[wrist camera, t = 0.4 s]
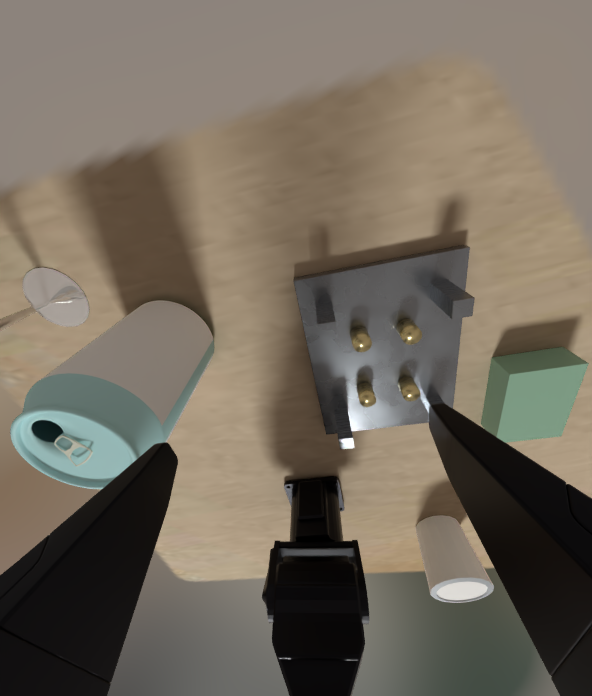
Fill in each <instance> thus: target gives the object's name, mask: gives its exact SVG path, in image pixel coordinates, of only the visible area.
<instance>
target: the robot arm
mask: <svg viewBox="0 0 592 696" xmlns="http://www.w3.org/2000/svg"><path fill="white" fill-rule="evenodd" d="M429 428H430V431H431V434H432V436H433V439H434V442H435V444H436V447H437V449H438V452H439V455H440V457H441V460H442V462H443V465H444V468H445V470H446V473H447V475H448V478H449V480H450V482H451V484H452V486H453V488H454V490H455V492H456V494H457V496H458V497H459V499H460V501H461V503H462V505H463V507H464V509H465V511H466V513H467V515H468V517H469V519H470V521H471V523H472V525H473V527H474V529H475V531H476V532H477V534H478V536H479V538H480V540H481V542H482V544H483V546H484V548H485V550H486V552H487V554H488V556H489V558H490V560H491V562H492V564H493V566H494V568H495V569H496V571H497V573H498V575H499V577H500V579H501V581H502V583H503V585H504V587H505V589H506V591H507V593H508V595H509V597H510V599H511V600H512V602H513V604H514V606H515V608H516V610H517V612H518V614H519V616H520V618H521V620H522V622H523V624H524V626H525V628H526V630H527V632H528V634H529V635H530V638H531V639H532V641H533V643H534V645H535V647H536V649H537V651H538V653H539V655H540V657H541V659H542V661H543V663H544V665H545V667H546V669H547V671H548V672H549V674H550V675H551V676H552V681H553V683H554V684H555V687H556V689H557V690H558V692H559V694H560V696H592V498H590V497H588V496H587V495H585V494H584V493H582V492H581V491H579V490H578V489H576V488H575V487H573V486H571V485H570V484H567V485H566V482H565V481H564V480H562V479H560V478H559V477H557V476H556V475H554V474H553V473H551V472H550V471H548V470H547V469H545V468H544V467H542V466H540V465H539V464H537V463H536V462H534V461H533V460H531V459H530V458H528V457H527V456H525V455H523V454H522V453H520V452H519V451H517V450H516V449H514V448H513V447H511V446H510V445H508V444H507V443H505V442H503V441H502V440H500V439H499V438H497V437H496V436H494V435H493V434H491V433H490V432H488V431H487V430H485V429H483V428H482V427H480V426H479V425H477V424H476V423H474V422H473V421H471V420H470V419H468V418H466V417H465V416H463V415H462V414H460V413H459V412H457V411H456V410H454V409H453V408H451V407H450V406H448V405H446V404H445V403H437V404H431V405H430V406H429ZM177 465H178V459H177V456H176V454H175V453H174V451H173V450H172V448H171V447H170V445H169V444H168V443H167V442H163V443H157V444H154V445H153V446H152V447H151V448H149V449H148V450H147V451H146V452H145V453H144V454H142V455H141V456H140V457H139V458H138V459H137V460H135V461H134V462H133V463H132V464H131V465H130V466H128V467H127V468H126V469H125V470H124V471H123V472H121V473H120V474H119V475H118V476H117V477H116V478H114V479H113V480H112V481H111V482H110V483H109V484H107V485H106V486H105V487H104V488H103V489H102V490H100V491H99V492H98V493H97V494H96V495H95V496H93V497H92V498H91V499H90V500H89V501H88V502H86V503H85V504H84V505H83V506H82V507H81V508H80V509H78V510H77V511H76V512H75V513H74V514H73V515H71V516H70V517H69V518H68V519H67V520H66V521H64V522H63V523H62V524H61V525H60V526H59V527H57V528H56V529H55V530H54V531H53V532H52V533H51V534H50V535H48V536H47V537H46V538H44V539H43V540H42V541H41V542H40V543H39V544H38V545H36V546H35V547H34V548H33V549H32V550H30V551H29V552H28V553H27V554H26V555H25V556H23V557H22V558H21V559H20V560H19V561H17V562H16V563H15V564H14V565H13V566H11V567H10V568H9V569H8V570H6V571H5V572H4V573H3V574H1V575H0V696H107V694H108V691H109V688H110V682H111V681H112V678H113V675H114V671H115V669H116V666H117V663H118V659H119V656H120V653H121V650H122V647H123V644H124V641H125V638H126V634H127V632H128V629H129V626H130V622H131V619H132V616H133V613H134V610H135V607H136V604H137V601H138V598H139V595H140V592H141V588H142V585H143V582H144V579H145V576H146V573H147V570H148V567H149V564H150V560H151V558H152V555H153V552H154V549H155V545H156V542H157V539H158V536H159V533H160V530H161V527H162V524H163V521H164V518H165V515H166V511H167V508H168V504H169V500H170V496H171V492H172V487H173V483H174V478H175V474H176V469H177ZM284 488H285V491H286V494H287V496H288V499H289V502H290V504H291V528H290V542H280V541H275V544H274V548H272V549H271V551H270V562H269V569H268V573H267V577H266V581H265V585H264V589H263V594H262V599H263V601H264V602H265V604H266V606H267V613H268V622H269V623H273V631H272V643H273V646H274V650H275V653H276V656H277V659H278V662H279V665H280V668H281V671H282V674H283V677H284V680H285V683H286V686H287V689H288V692H289V695H290V696H352V693H353V689H354V686H355V682H356V679H357V675H358V672H359V668H360V665H361V661H362V656H363V651H364V645H365V638H364V630H363V624H369V608H368V598H367V590H366V584H365V578H364V573H363V567H362V562H361V557H360V551H359V546H358V541H357V540H352V541H343V535H342V526H341V516H340V511H343V510H344V503H343V498H342V494H341V489H340V484H339V479H338V478H337V477H327V478H317V479H306V480H296V481H287V482H285V483H284Z"/></svg>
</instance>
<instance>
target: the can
mask: <svg viewBox="0 0 592 696" xmlns="http://www.w3.org/2000/svg"><path fill="white" fill-rule="evenodd" d="M213 353H214V340H213V336H212V334H211V331H210V329H209V328H208V326H207V324H206V323H205V322H204V321H203V320H202V318H201V317H200V316H198V315H197V314H196V313H195V312H194V311H192V310H191V309H189V308H187V307H185V306H183V305H181V304H178V303H175V302H171V301H164V300H158V301H151V302H147V303H145V304H143V305H141V306H139V307H138V308H137V309H135V310H134V311H133V312H131V313H130V314H129V315H127V316H126V317H125V318H123V319H122V320H120V321H119V322H118V323H116V324H115V325H114V326H112V327H111V328H110V329H108V330H107V331H106V332H104V333H103V334H102V335H100V336H99V337H97V338H96V339H95V340H93V341H92V342H91V343H89V344H88V345H87V346H85V347H84V348H83V349H81V350H80V351H79V352H77V353H76V354H75V355H73V356H72V357H70V358H69V359H68V360H66V361H65V362H64V363H62V364H61V365H60V366H58V367H57V368H56V369H54V370H53V371H52V372H50V373H49V374H47V375H46V376H45V377H43V378H42V379H41V380H39V381H38V382H37V383H35V384H34V385H33V386H32V388H31V389H30V390H29V392H28V394H27V395H26V398H25V402H24V408H23V413H21V414H20V415H19V416H17V417H16V418H15V420H14V421H13V423H12V425H11V429H10V431H11V432H10V434H11V439H12V442H13V444H14V447H15V448H16V450H17V451H18V452H19V454H20V455H21V456H22V457H23V458H24V459H25V460H26V461H27V462H28V463H29V464H30V465H32V466H33V467H34V468H36V469H37V470H39V471H40V472H42V473H44V474H46V475H47V476H49V477H51V478H54V479H56V480H59V481H61V482H64V483H67V484H70V485H73V486H78V487H83V488H90V489H103V488H104V487H105V486H106V485H107V484H109V483H110V482H111V481H112V480H113V479H114V478H116V477H117V476H118V475H119V474H120V473H121V472H123V471H124V470H125V469H126V468H127V467H128V466H130V465H131V464H132V463H133V462H134V461H135V460H137V459H138V458H139V457H140V456H141V455H142V454H144V453H145V452H146V451H147V450H148V449H149V448H151V447H152V446H153V445H154V444H157V443H163V442H167V441H168V439H169V437H170V435H171V433H172V431H173V430H174V428H175V426H176V424H177V422H178V420H179V418H180V417H181V415H182V413H183V411H184V409H185V407H186V405H187V404H188V402H189V400H190V398H191V396H192V394H193V392H194V390H195V389H196V387H197V385H198V383H199V381H200V379H201V377H202V376H203V374H204V372H205V370H206V368H207V366H208V364H209V363H210V361H211V359H212V356H213Z"/></svg>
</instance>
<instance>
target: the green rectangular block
mask: <svg viewBox="0 0 592 696" xmlns="http://www.w3.org/2000/svg"><path fill="white" fill-rule="evenodd" d="M588 364H589V363H587V362H586V361H584V360H583V359H581V358H580V357H578V356H576V355H575V354H573V353H572V352H570V351H569V350H567V349H565V348H564V347H558V348H551V349H545V350H538V351H531V352H525V353H518V354H512V355H505V356H499V357H492V359H491V365H490V372H489V378H488V384H487V390H486V396H485V402H484V408H483V414H482V420H481V425H482V426H483V427H484V429H485V430H487V431H488V432H490V433H491V434H493V435H494V436H496V437H497V438H499V439H500V440H502V441H503V442H514V441H523V440H532V439H541V438H550V437H559V436H561V435H562V433H563V430H564V427H565V425H566V422H567V419H568V417H569V414H570V411H571V409H572V406H573V404H574V401H575V398H576V396H577V393H578V390H579V388H580V385H581V382H582V380H583V377H584V374H585V372H586V369H587V366H588Z"/></svg>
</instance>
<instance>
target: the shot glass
mask: <svg viewBox="0 0 592 696" xmlns="http://www.w3.org/2000/svg"><path fill="white" fill-rule="evenodd" d="M416 533H417V537H418V542H419V546H420V550H421V555H422V559H423V564H424V568H425V572H426V576H427V580H428V585H429V590H430V594H431V596H433V597H434V598H435V599H437V600H440V601H443V602H452V603H457V602H458V603H459V602H469V601H474V600H478V599H481V598H483V597H486V596H488V595H489V594H490V593H491V592H493V588H494V586H493V584H492V582H491V580H490V578H489V577H488V575H487V573H486V571H485V569H484V567H483V566H482V564H481V562H480V560H479V558H478V557H477V555H476V553H475V551H474V549H473V547H472V546H471V544H470V542H469V540H468V538H467V537H466V535H465V533H464V531H463V529H462V527H461V526H460V524H459V522H458V521H457V520H456V519H455V518H453V517H451V516H445V515H438V516H431V517H428V518H425V519H423V520H422V521H420V522H419V523H418V524H417V526H416Z"/></svg>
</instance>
